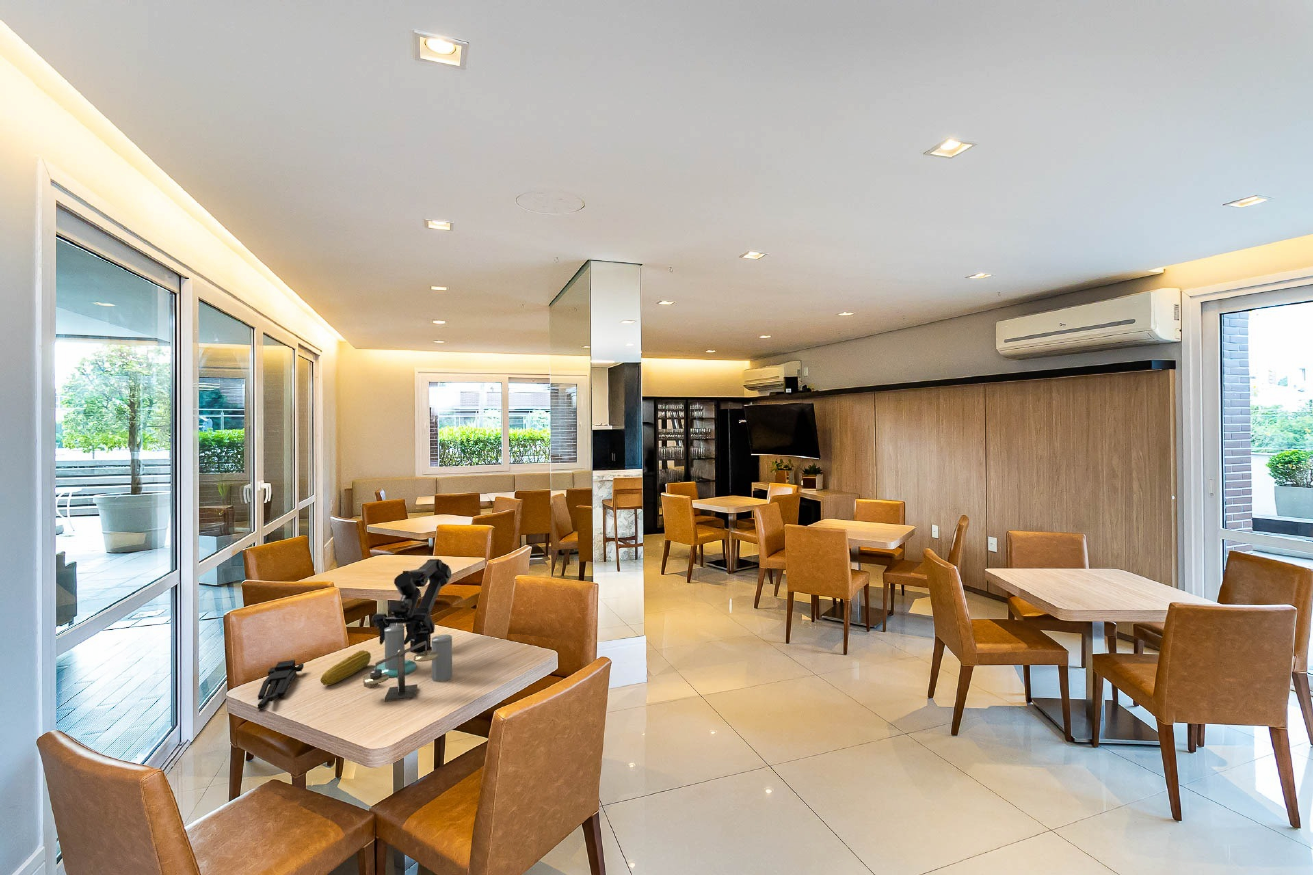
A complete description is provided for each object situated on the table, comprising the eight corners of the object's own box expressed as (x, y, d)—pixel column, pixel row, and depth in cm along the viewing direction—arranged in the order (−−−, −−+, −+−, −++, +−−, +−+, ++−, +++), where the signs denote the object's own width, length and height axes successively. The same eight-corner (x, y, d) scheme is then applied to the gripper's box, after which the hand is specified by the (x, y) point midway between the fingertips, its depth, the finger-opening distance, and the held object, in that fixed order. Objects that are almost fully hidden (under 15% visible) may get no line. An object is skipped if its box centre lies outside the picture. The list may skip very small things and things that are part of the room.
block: (372, 683, 188) (372, 673, 189) (378, 685, 187) (378, 675, 187) (363, 686, 186) (363, 677, 186) (369, 688, 184) (369, 678, 184)
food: (358, 664, 206) (358, 647, 206) (373, 665, 205) (373, 648, 205) (315, 689, 185) (315, 669, 185) (332, 689, 184) (332, 670, 184)
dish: (399, 661, 208) (399, 657, 208) (424, 667, 202) (423, 663, 202) (365, 673, 197) (365, 669, 197) (389, 680, 190) (389, 676, 190)
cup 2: (443, 673, 196) (443, 633, 196) (456, 676, 193) (456, 636, 193) (427, 679, 191) (427, 638, 191) (440, 682, 187) (440, 641, 188)
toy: (284, 711, 172) (303, 672, 199) (284, 694, 171) (303, 657, 199) (245, 717, 168) (270, 676, 196) (245, 700, 168) (270, 662, 196)
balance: (439, 685, 185) (439, 636, 186) (436, 695, 178) (436, 644, 178) (366, 693, 180) (366, 642, 180) (360, 704, 172) (360, 651, 173)
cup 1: (397, 662, 204) (396, 624, 204) (408, 665, 200) (408, 626, 201) (380, 668, 198) (380, 629, 199) (392, 671, 195) (392, 631, 195)
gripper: (374, 590, 204) (356, 632, 193) (426, 590, 203) (411, 632, 192) (386, 607, 212) (369, 648, 201) (436, 607, 211) (422, 648, 200)
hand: (392, 644), depth 198 cm, fingers open, 8 cm apart
